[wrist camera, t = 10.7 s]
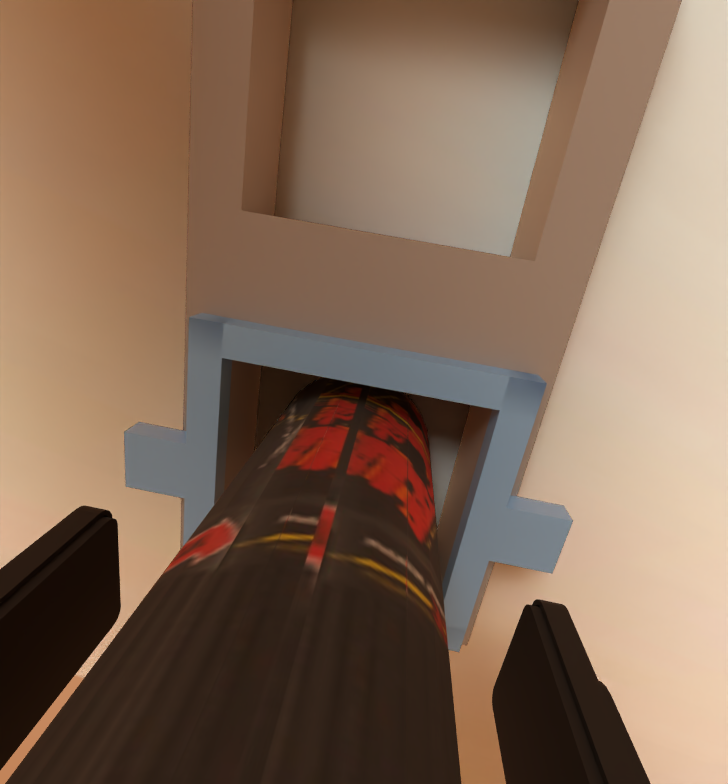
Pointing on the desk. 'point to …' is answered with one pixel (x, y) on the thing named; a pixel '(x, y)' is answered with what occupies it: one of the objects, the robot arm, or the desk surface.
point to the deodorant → (285, 624)
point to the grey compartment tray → (393, 286)
